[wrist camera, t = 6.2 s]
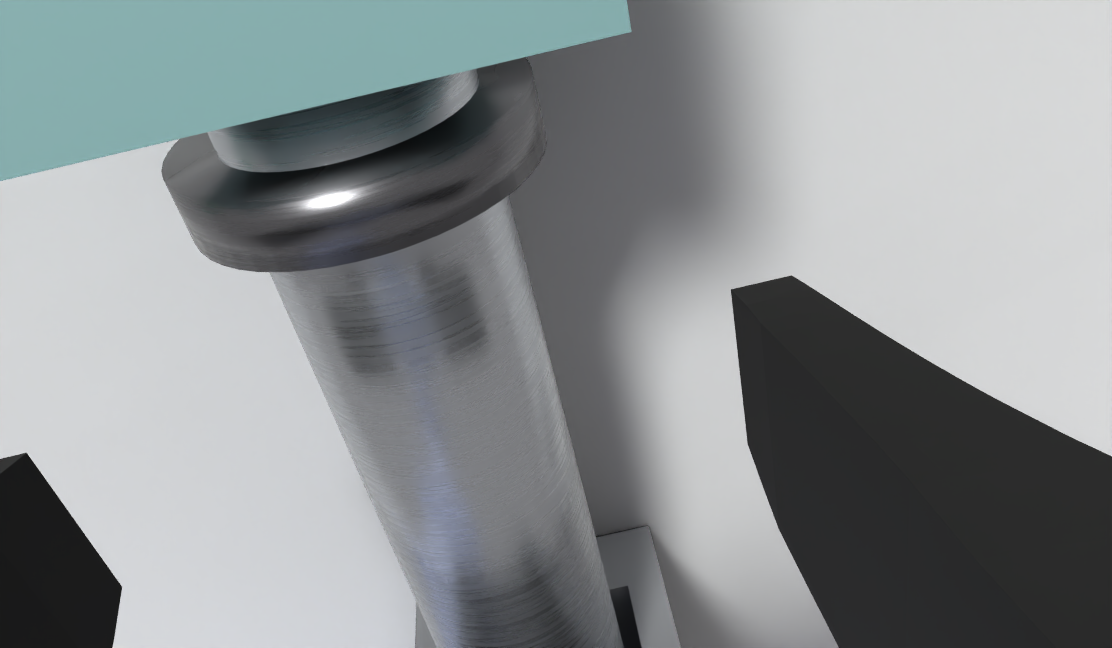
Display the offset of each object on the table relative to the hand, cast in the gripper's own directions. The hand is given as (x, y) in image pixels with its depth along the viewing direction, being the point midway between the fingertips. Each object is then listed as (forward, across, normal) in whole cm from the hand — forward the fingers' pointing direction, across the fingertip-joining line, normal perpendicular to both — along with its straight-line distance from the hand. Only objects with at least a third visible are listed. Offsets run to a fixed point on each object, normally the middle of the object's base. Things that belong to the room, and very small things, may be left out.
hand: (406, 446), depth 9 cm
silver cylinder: (+5, 0, +1) cm, 5 cm away
